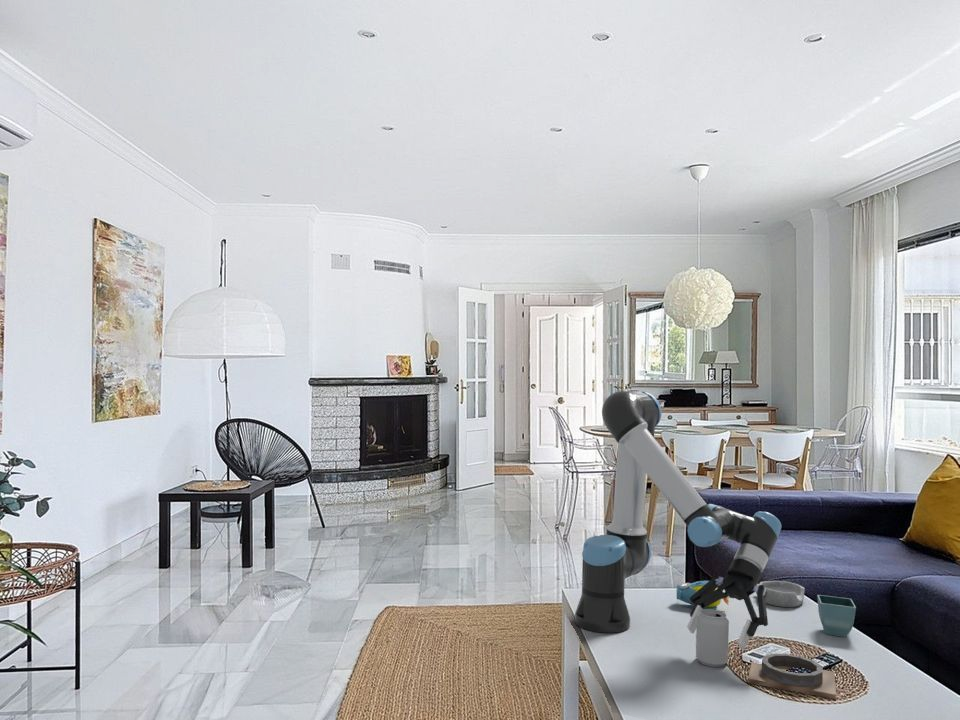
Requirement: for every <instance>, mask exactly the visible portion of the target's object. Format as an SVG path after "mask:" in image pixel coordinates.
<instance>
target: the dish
mask: <svg viewBox="0 0 960 720" xmlns="http://www.w3.org/2000/svg"><path fill="white" fill-rule="evenodd" d="M759 585H763V586H764V588H765V589H766V591H767V594H766V598H765V601H766V605H771V606H776V607H783V608H795V607H799V606H801V605H802V604H803V603H804V599H805V594H806V588H805V587H804V586H802V585H800V584H798V583H795V582H794V583H793V582H790V581H785V580H784V581H780V580H769V581H760V582H759V583H758V584H757V585H756V586H759Z"/></svg>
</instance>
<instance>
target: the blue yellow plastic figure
mask: <svg viewBox="0 0 960 720" xmlns="http://www.w3.org/2000/svg"><path fill="white" fill-rule="evenodd" d="M708 582H709V580H700V581H698V580H696V581H694V582H684V583H681V584H679V583H677V585H676V600H679V601H681V602H683V603H686V604H689V605H690V606H694V605H693V604H692V602H691V601H690V597H691V596H692V595H693V594H695V593H696V592H697V591H698V590H699V589H701V588H702V587H703V586H704V585H705V584H706V583H708ZM718 587H719V586H718ZM718 587H717V588H718ZM717 588H716V589H717ZM716 589H715V590H716ZM722 600H723V601H724V603H726V605H728V606H729V602H730V601H729V596H728V597H726V598H722V599H720V600H718V601H716V602H714V603H713V604H711V605H709V606H707V607H705V608H703V610H704V609H712V610H718V606H719V605H720V604H721V602H722Z"/></svg>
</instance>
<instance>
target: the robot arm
mask: <svg viewBox="0 0 960 720" xmlns="http://www.w3.org/2000/svg"><path fill="white" fill-rule="evenodd" d="M662 412H663V411H662V407H661V404H660V402H659V401H658V399H657V398H656V397H655V396H654V395H653V394H651V393H649V392H646V391H642V390H641V391H640V390H618V391H615V392H613V393H612V394H610V395H609V396H608V397H607V398H606V399H605V401H604V402H603V405H602V408H601V417H602V420H603V424H604V425H605V427H606V429H607V430H608V432H609V433H610V434H611V436H612V437H613V438H614V440H615V441H616V442H617V445H618V446H617V458H616V467H615V468H616V469H615V470H616V471H615V481H614V482H615V484H614V498H613V500H614V501H613V512H612V513H613V514H612V521H611V523H610V524H609V525H607V526H606V533H605V534H600V535H593V536H590V537H588V538H587V539H586V540H585V541H584V542H583V547H582V551H581V552H582V553H581V554H582V555H581V557H582V567H581V568H582V570H581V572H582V573H581V575H582V576H581V595H580V598H579V601H578V604H577V607H576V609H575V613H574V623H575V624H576V625H577V626H578V627H580V628H582V629H583V630H587V631H591V632H596V633H607V634H608V633H609V634H610V633H611V634H612V633H620V632H624V631H627V630H628V629H630V627H631V616H630V612H629V609H628V606H627V603H626V600H625V580H626V579H628V578H629V577H632V576H634V575H637V574H639V573H641V572H642V571H643V570H645V568H646V567H647V566H648V564H649V563H650V560H651V558H652V557H651V556H652V550H651V549H652V548H651V544H650V542H649V541H648V538H647V537H648V530H646V528H645V527H644V526H643V519H644V517H643V516H644V507H645V506H644V505H645V492H646V491H645V490H646V476H648V477H649V479H650V480H651V481H652V483H653V484H654V485H655V486H656V488H657V489H658V491H659V492H660V493H661V494H662V496H663V497H664V498H665V500H666V501H667V502H668V504H669V505H670V506H671V507H672V508H673V510H674V511H675V512H676V514H677V515H678V516H679V517H680V519H681V520H682V521H683V523H684V524H685V525H686V527H687V535H688V538H689V540H690V541H691V542H692V543H693V545H695V546H697V547H700V548H707V547H713V546H714V545H717V544H718V543H720V542H721V541H724V540H725V539H728V540H731V542H736V543H737V544H740V545H739V547H738V549H737V550H736V553H735V555H734V557H733V560H732V561H731V563H730V566H729V567H728V569H727V574H726V576H725V577H722V576H719V574H718V573H714V574H713V575H712V577H711V579H710V580H708V583H706V584H705V585H704V586H703V587H702V588H701V589H699V590H698V591H697V592H696V593H695V594H693V595H692V596H691V597H690V601H691V602H692V604H693V605H692V606H693V607H692V608H691V609H692V610H691V611H690V615H689V616H690V620H689V622H688V623H687V625H686V627H687V629H688V630H689V632H690V633H691V634H693V635H694V634H695V632H696V629H697V616H698V615H699V614H700V611H701V610H703V608H705V607H707V606H709V605H711V604H713V603H714V602H716V601H718V600H720V599H721V600H723V599H722V598H726V597H728V596H729V598H730V599H736V600H737V601H742V600H743V601H744V603H745V607H746V609H747V612H748V614H749V617H750V619H748V618H747V619H746V622H745V624H744V626H743V629H742V630H741V633H740V636H739V637H738V639H737V645H738V646H739V648H740V649H741V650H743V651H745V649H746V647H747V645H748V642H749V639H750V638H754V636H755V634H756V631H757V630H758V628H759V626H763V627H767V626H768V625H769V620H768V611H767V603H766V601H765V598H766V594H767V591H766V589H765V588H764V586H763V585H759V586H756V585H757V584H759V583H760V582H759V581H760V579H761V578H762V573H763V572H764V569H765V567H766V565H767V563H768V561H769V559H770V556H771V554H772V552H773V549H774V548H775V545H776V544H777V541H778V540H779V535H780V532H781V530H782V523H781V521H780V520H779V518H778V517H776V516H775V515H774V514H772V513H771V512H767V511H757V512H755V513H754V515H753V516H748V515H746V514H742V513H740V512H738V511H734V510H731V509H728V508H725V507H723V506H722V505H717V504H713V503H708V504H707V502H706V501H705V500H704V499H703V497H702V496H701V495H700V494H699V493H698V491H697V490H696V488H695V487H694V486H693V485H692V484H691V482H690V481H689V480H688V479H687V477H686V476H685V475H684V474H683V472H682V471H681V470H680V469H679V467H678V466H677V465H676V463H675V462H674V461H673V460H672V459H671V457H670V456H669V455H668V453H667V452H666V451H665V449H663V447H662V446H661V445H660V443H659V442H658V441H657V440H656V439H655V430H656V427H657V426H658V425H659V423H660V421H661V419H662ZM717 587H718V588H717ZM716 588H717V589H716ZM715 589H716V590H715ZM723 591H724V592H723ZM755 593H756V596H757V598H756V601H757V608H758V609H757V610H758V615H757V613H756V610H755V608H754V605H753V601H752V600H751V595H753V594H755Z"/></svg>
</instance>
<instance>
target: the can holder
mask: <svg viewBox="0 0 960 720" xmlns="http://www.w3.org/2000/svg"><path fill="white" fill-rule="evenodd" d="M761 659H762V664H757V663H754V662H752V661H751V664H750V667H749V668H750V669H749V672H748V676H747V684H752V685H757V686H758V685H759V686H763V687H769V688H772V689H773V688H774V689H779V690H783V689H784V691H789V690H790V692H794V691H795V693H799V692H801V693H800V694H805V693H806V694H807V695H810V696H811V695H812V696H817V697H822V698H827V699H832V700H837V691H836V690H837V689H836V676H835V671H831V670H827V669H823V668H824V667H823V666H822V665H821V664H819V663H818V662H816V661H815V660H813V659H809V658H807V657H804V656H801V655H795V654H789V653H769V654H767V655H766V654H765V655H763V656H762V658H761ZM792 667H802V668H805V669H808V670H810V671H811V673H793V672H788V671H786V670H788V669H790V668H792Z"/></svg>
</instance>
